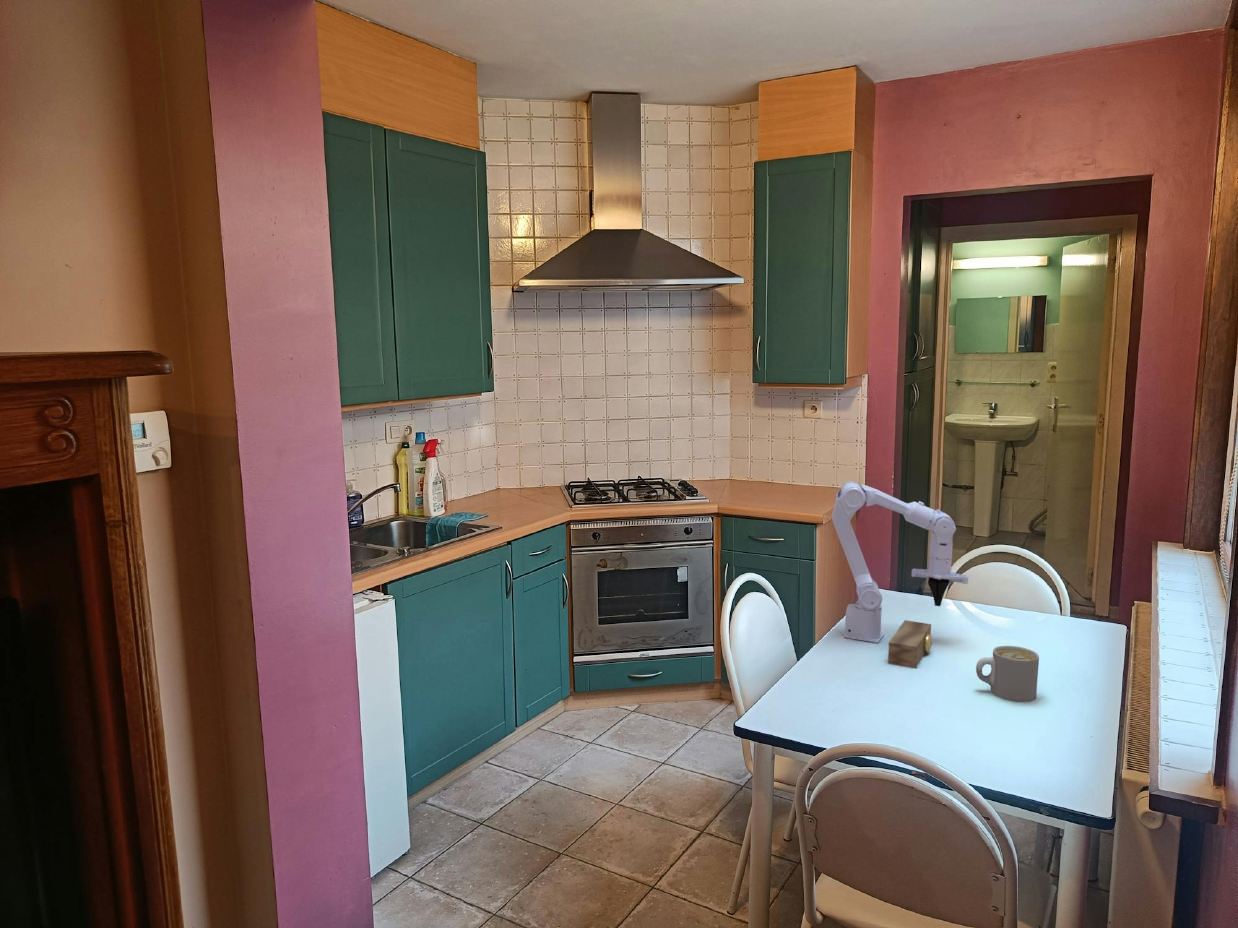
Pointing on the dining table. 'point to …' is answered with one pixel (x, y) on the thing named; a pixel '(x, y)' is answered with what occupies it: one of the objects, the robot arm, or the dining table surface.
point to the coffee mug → (1011, 673)
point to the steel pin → (927, 643)
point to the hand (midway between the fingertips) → (937, 605)
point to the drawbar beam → (908, 644)
